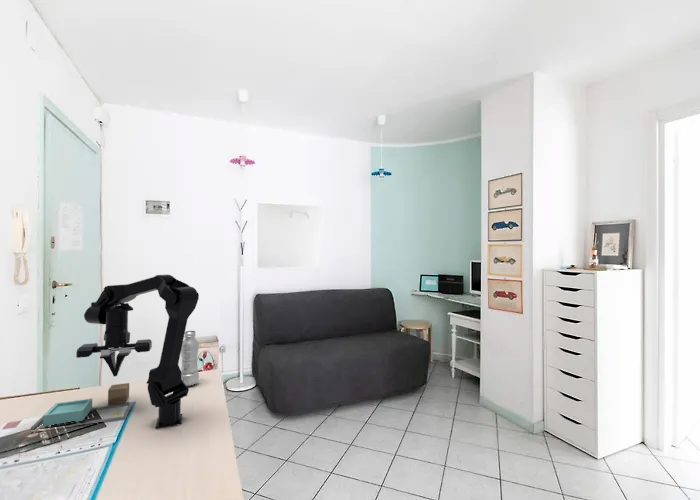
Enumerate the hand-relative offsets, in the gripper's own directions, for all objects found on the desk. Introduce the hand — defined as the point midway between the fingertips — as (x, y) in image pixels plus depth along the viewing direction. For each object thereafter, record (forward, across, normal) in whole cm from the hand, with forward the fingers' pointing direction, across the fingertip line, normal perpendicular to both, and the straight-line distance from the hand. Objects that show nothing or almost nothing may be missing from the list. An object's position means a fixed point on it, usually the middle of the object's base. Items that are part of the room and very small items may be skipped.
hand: (115, 375), depth 106 cm
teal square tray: (+11, +11, +1) cm, 16 cm away
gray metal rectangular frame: (+11, +7, +1) cm, 13 cm away
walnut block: (+11, +1, -9) cm, 15 cm away
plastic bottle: (+11, -20, -16) cm, 28 cm away
